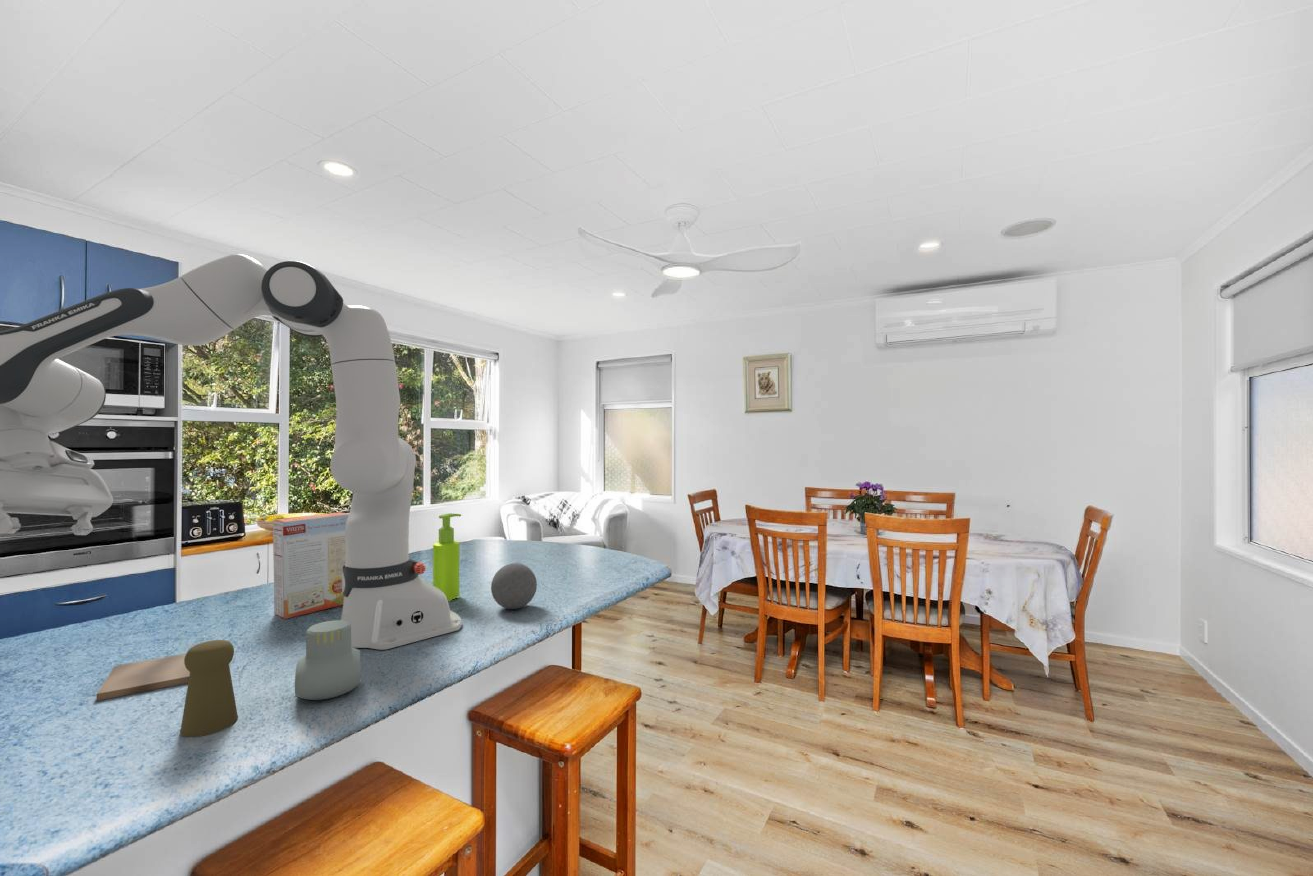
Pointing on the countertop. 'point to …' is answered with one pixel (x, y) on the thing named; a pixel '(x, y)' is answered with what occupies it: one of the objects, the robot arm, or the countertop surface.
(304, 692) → the air freshener
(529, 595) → the decorative ball
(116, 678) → the walnut board
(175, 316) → the robot arm
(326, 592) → the cracker box
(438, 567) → the soap dispenser
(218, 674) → the cork
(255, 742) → the countertop surface
